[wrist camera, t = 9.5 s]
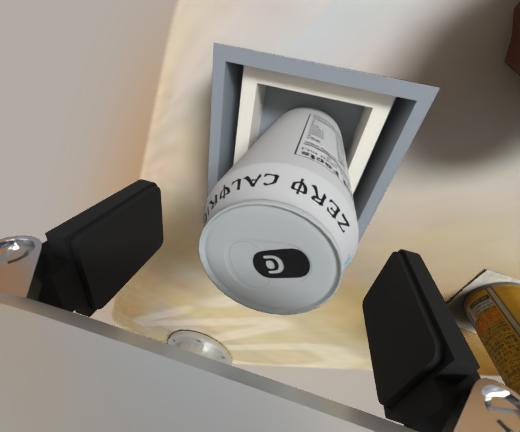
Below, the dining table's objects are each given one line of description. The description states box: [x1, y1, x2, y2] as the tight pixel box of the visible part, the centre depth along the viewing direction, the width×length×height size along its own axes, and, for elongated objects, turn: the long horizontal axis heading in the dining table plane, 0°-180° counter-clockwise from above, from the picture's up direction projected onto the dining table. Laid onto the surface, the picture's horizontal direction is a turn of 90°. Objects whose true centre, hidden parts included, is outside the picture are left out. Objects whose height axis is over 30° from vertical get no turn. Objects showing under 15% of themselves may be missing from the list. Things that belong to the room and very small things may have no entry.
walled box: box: [207, 43, 440, 243], centre depth 20 cm, size 16×13×5 cm
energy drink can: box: [199, 107, 359, 315], centre depth 14 cm, size 6×6×15 cm
